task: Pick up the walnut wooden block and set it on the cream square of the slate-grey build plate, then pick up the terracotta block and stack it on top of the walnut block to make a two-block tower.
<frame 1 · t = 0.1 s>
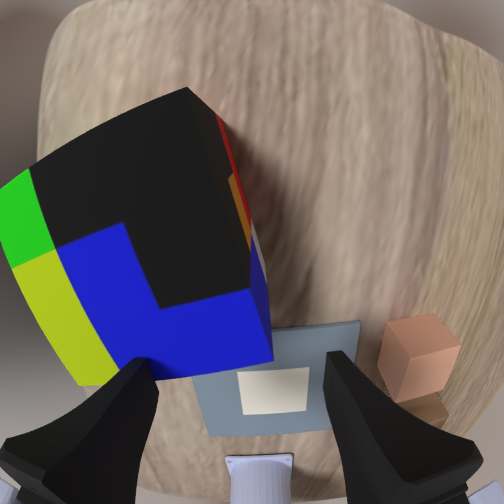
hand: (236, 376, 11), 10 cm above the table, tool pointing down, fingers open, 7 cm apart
terracotta block: (405, 340, 23), on the table
puzzle toy: (172, 214, 19), on the table
walnut block: (406, 404, 26), on the table
build plate: (273, 390, 24), on the table
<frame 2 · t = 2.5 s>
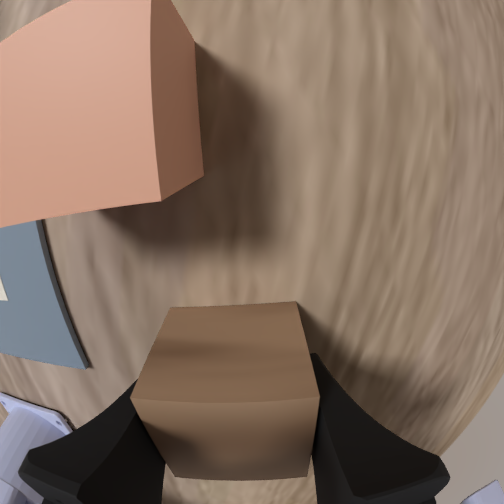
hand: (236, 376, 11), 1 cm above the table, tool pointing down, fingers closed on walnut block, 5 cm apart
terracotta block: (131, 117, 9), on the table
walnut block: (237, 354, 12), on the table, touching gripper
when the fingers open (3 cm above the table, at t = 6.3 s): walnut block stays where it is, resting on build plate.
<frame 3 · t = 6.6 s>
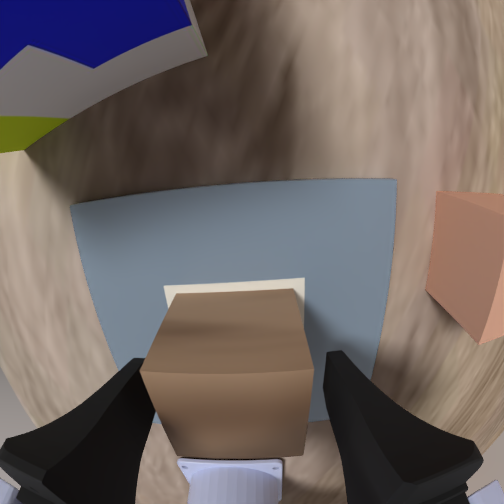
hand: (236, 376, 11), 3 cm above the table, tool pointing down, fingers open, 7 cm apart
terracotta block: (466, 239, 12), on the table
puzzle toy: (85, 20, 9), on the table
walnut block: (238, 339, 13), resting on build plate
build plate: (239, 335, 14), on the table
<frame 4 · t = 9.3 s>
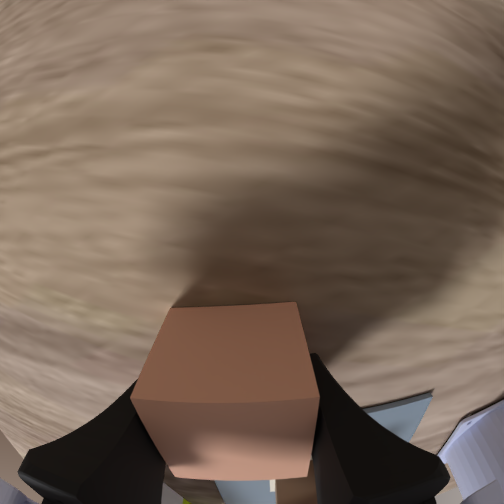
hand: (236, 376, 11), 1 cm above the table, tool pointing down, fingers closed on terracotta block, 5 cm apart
terracotta block: (237, 354, 12), on the table, touching gripper
puzzle toy: (130, 485, 19), on the table
walnut block: (310, 474, 16), resting on build plate
build plate: (311, 469, 16), on the table
when the fingers open (8 cm above the table, at t = 12.2 s): terracotta block stays where it is, resting on walnut block.
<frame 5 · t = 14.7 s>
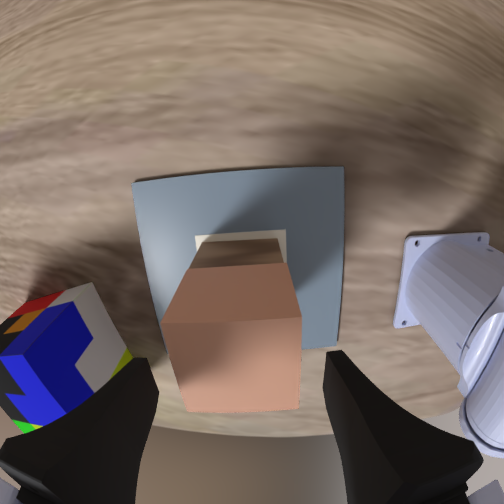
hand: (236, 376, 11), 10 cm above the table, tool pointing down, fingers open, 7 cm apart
terracotta block: (240, 309, 15), point 5 cm above the table, touching walnut block
puzzle toy: (80, 337, 23), on the table
walnut block: (242, 274, 20), resting on build plate, touching terracotta block
build plate: (243, 271, 21), on the table
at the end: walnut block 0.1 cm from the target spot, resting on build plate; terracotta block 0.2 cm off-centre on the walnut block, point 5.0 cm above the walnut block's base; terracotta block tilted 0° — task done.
